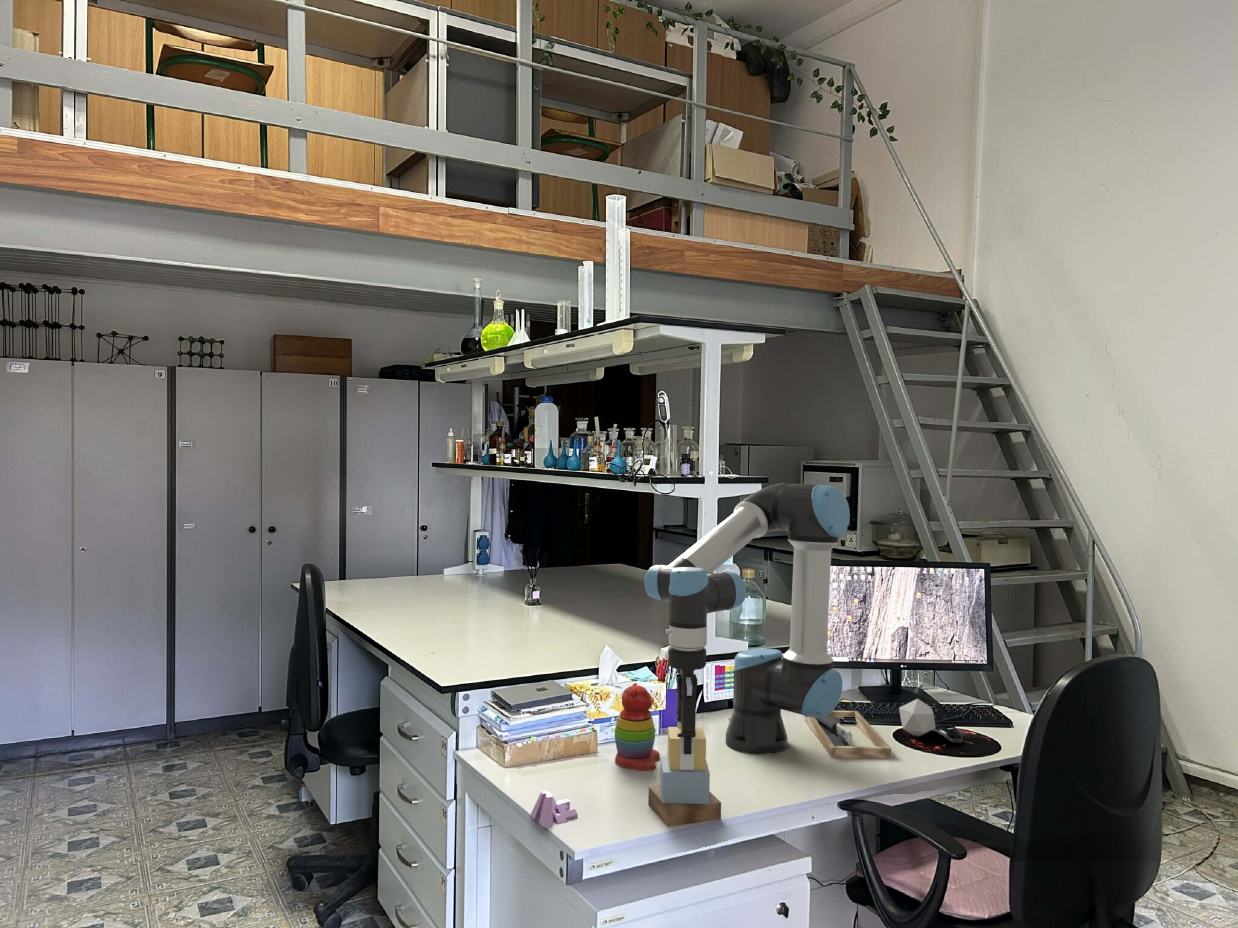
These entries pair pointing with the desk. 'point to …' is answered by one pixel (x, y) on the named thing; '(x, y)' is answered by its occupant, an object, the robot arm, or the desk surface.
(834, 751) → the wagon tray frame
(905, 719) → the die
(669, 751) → the ochre block
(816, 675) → the robot arm
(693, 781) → the blue-grey block
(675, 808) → the walnut base block
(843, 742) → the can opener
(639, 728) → the stacking bear
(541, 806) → the letters
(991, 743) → the desk surface
